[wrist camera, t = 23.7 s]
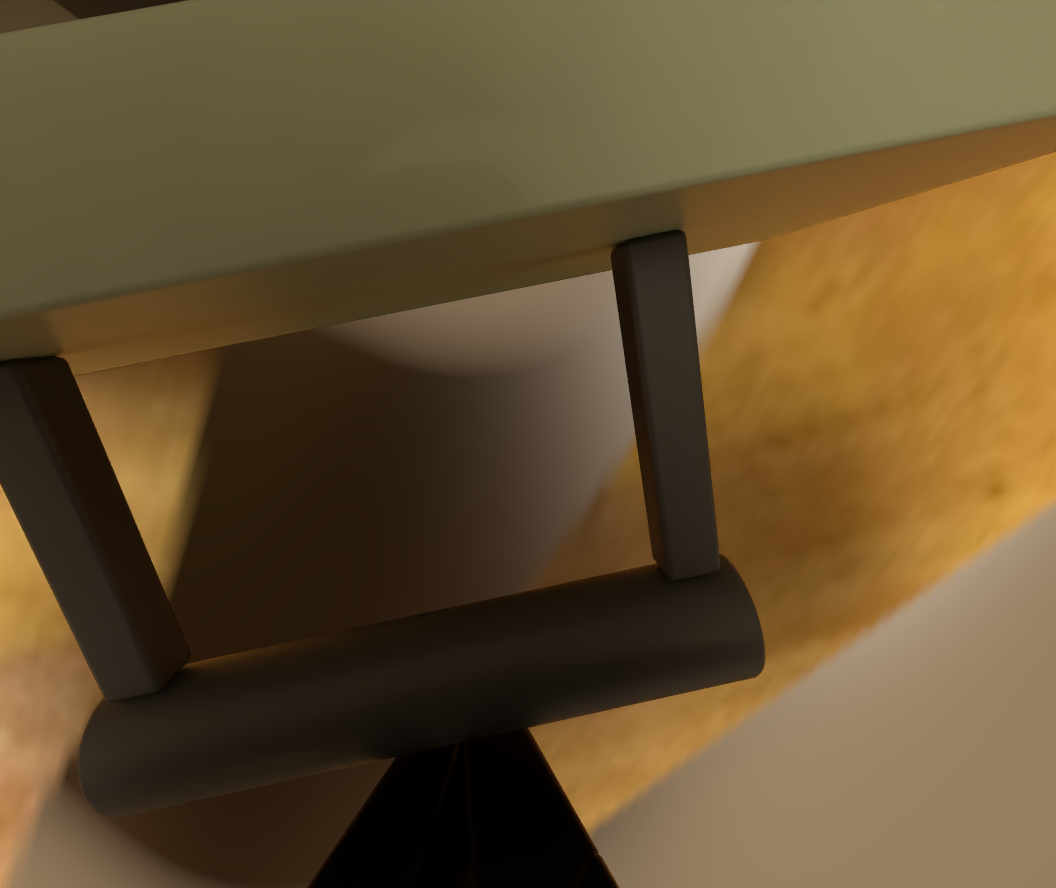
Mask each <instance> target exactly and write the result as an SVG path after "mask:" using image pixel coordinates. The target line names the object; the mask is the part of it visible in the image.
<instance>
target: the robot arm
mask: <svg viewBox="0 0 1056 888" xmlns="http://www.w3.org/2000/svg"><path fill="white" fill-rule="evenodd" d="M307 888H619V886H618V885H617V883H616V881H615V880H614V878H613V876H612V874H611V872H610V871H609V869H608V867H607V865H606V864H605V862H604V860H603V858H602V857H601V856H600V855H598V851H597V849H596V847H595V845H594V844H593V841H592V840H591V838H590V836H589V834H588V833H587V831H586V829H585V827H584V826H583V824H582V822H581V820H580V819H579V817H578V815H577V813H576V811H575V810H574V808H573V806H572V804H571V803H570V801H569V799H568V797H567V796H566V794H565V792H564V790H563V789H562V787H561V785H560V783H559V782H558V780H557V778H556V776H555V774H554V773H553V771H552V769H551V767H550V766H549V764H548V762H547V760H546V759H545V757H544V755H543V753H542V752H541V750H540V748H539V746H538V745H537V743H536V741H535V739H534V737H533V736H532V734H531V732H530V730H529V729H528V728H524V729H519V730H515V731H510V732H506V733H501V734H497V735H492V736H488V737H483V738H479V739H474V740H470V741H465V742H461V743H456V744H452V745H447V746H443V747H438V748H433V749H429V750H424V751H420V752H415V753H411V754H406V755H402V756H397V757H396V758H395V759H394V761H393V762H392V764H391V765H390V767H389V768H388V770H387V771H386V773H385V774H384V776H383V777H382V779H381V780H380V782H379V783H378V784H377V786H376V787H375V789H374V790H373V792H372V793H371V795H370V796H369V798H368V799H367V801H366V802H365V804H364V805H363V806H362V808H361V810H360V811H359V812H358V814H357V815H356V817H355V818H354V820H353V821H352V822H351V824H350V826H349V827H348V828H347V830H346V831H345V833H344V834H343V836H342V837H341V839H340V840H339V841H338V843H337V844H336V846H335V848H334V849H333V850H332V852H331V853H330V855H329V856H328V858H327V859H326V861H325V862H324V864H323V865H322V866H321V868H320V869H319V871H318V872H317V874H316V875H315V877H314V878H313V880H312V881H311V883H310V884H309V885H308V887H307Z"/></svg>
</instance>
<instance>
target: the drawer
mask: <svg viewBox="0 0 1056 888" xmlns="http://www.w3.org/2000/svg"><path fill="white" fill-rule="evenodd" d="M1053 152H1056V0H187V1H181V2H176V3H170V4H164V5H159V6H153V7H147V8H142V9H136V10H130V11H125V12H119V13H113V14H108V15H102V16H96V17H91V18H85V19H79V20H74V21H68V22H63V23H57V24H51V25H46V26H40V27H34V28H29V29H23V30H17V31H12V32H6V33H0V484H1V486H2V488H3V490H4V492H5V494H6V497H7V499H8V501H9V503H10V505H11V507H12V509H13V511H14V513H15V515H16V517H17V519H18V521H19V523H20V525H21V527H22V530H23V532H24V534H25V536H26V538H27V540H28V542H29V544H30V546H31V548H32V550H33V552H34V554H35V556H36V558H37V560H38V563H39V565H40V567H41V569H42V571H43V573H44V575H45V577H46V579H47V581H48V583H49V585H50V587H51V589H52V591H53V593H54V596H55V598H56V600H57V602H58V604H59V606H60V608H61V610H62V612H63V614H64V616H65V618H66V620H67V622H68V624H69V626H70V629H71V631H72V633H73V635H74V637H75V639H76V641H77V643H78V645H79V647H80V649H81V651H82V653H83V655H84V657H85V659H86V662H87V664H88V666H89V668H90V670H91V672H92V674H93V676H94V678H95V680H96V682H97V684H98V686H99V688H100V690H101V692H102V695H103V698H102V700H101V701H100V702H99V703H98V705H97V706H96V708H95V710H94V711H93V713H92V715H91V717H90V719H89V721H88V723H87V725H86V728H85V730H84V733H83V736H82V740H81V743H80V748H79V754H78V779H79V784H80V788H81V792H82V794H83V796H84V799H85V800H86V802H87V803H88V805H89V806H90V807H91V808H92V809H93V810H94V811H96V812H97V813H99V814H101V815H104V816H107V817H112V818H120V817H126V816H130V815H135V814H139V813H144V812H148V811H153V810H158V809H162V808H166V807H171V806H175V805H180V804H184V803H189V802H194V801H198V800H203V799H207V798H212V797H216V796H221V795H225V794H230V793H234V792H239V791H244V790H248V789H252V788H257V787H261V786H266V785H271V784H275V783H279V782H284V781H288V780H293V779H297V778H302V777H307V776H311V775H316V774H320V773H325V772H329V771H334V770H339V769H343V768H347V767H352V766H357V765H361V764H366V763H370V762H375V761H379V760H384V759H388V758H393V757H397V756H402V755H406V754H411V753H415V752H420V751H424V750H429V749H433V748H438V747H443V746H447V745H452V744H456V743H461V742H465V741H470V740H474V739H479V738H483V737H488V736H492V735H497V734H501V733H506V732H510V731H515V730H519V729H524V728H528V727H533V726H537V725H542V724H547V723H551V722H556V721H560V720H565V719H569V718H574V717H578V716H583V715H587V714H592V713H596V712H601V711H605V710H610V709H614V708H619V707H623V706H628V705H632V704H637V703H641V702H646V701H651V700H655V699H660V698H664V697H669V696H673V695H678V694H682V693H687V692H691V691H696V690H700V689H705V688H709V687H714V686H718V685H723V684H727V683H732V682H736V681H741V680H746V679H750V678H755V677H756V676H758V675H759V674H760V673H761V672H762V670H763V668H764V663H765V647H764V640H763V634H762V630H761V625H760V622H759V618H758V615H757V612H756V609H755V606H754V603H753V601H752V598H751V596H750V594H749V592H748V589H747V587H746V585H745V583H744V582H743V580H742V578H741V576H740V575H739V573H738V571H737V570H736V568H735V567H734V566H733V564H732V563H731V562H730V561H729V560H728V559H727V558H726V557H725V556H724V555H722V554H720V553H719V547H718V537H717V528H716V518H715V508H714V499H713V489H712V479H711V470H710V460H709V450H708V441H707V431H706V422H705V412H704V402H703V393H702V383H701V373H700V364H699V354H698V344H697V335H696V325H695V315H694V306H693V297H692V287H691V277H690V268H689V258H688V255H691V254H696V253H701V252H706V251H711V250H716V249H722V248H726V247H732V246H737V245H742V244H747V243H752V242H757V241H762V240H767V239H771V238H775V237H778V236H781V235H784V234H788V233H791V232H794V231H798V230H801V229H804V228H807V227H811V226H814V225H817V224H820V223H824V222H827V221H830V220H834V219H837V218H840V217H843V216H847V215H850V214H853V213H857V212H860V211H863V210H866V209H870V208H873V207H876V206H879V205H883V204H886V203H889V202H893V201H896V200H899V199H902V198H906V197H909V196H912V195H915V194H919V193H922V192H925V191H929V190H932V189H935V188H938V187H942V186H945V185H948V184H952V183H955V182H958V181H961V180H965V179H968V178H971V177H974V176H978V175H981V174H984V173H988V172H991V171H994V170H997V169H1001V168H1004V167H1007V166H1010V165H1014V164H1017V163H1020V162H1024V161H1027V160H1030V159H1033V158H1037V157H1040V156H1043V155H1047V154H1050V153H1053ZM609 270H613V278H614V284H615V292H616V299H617V306H618V313H619V320H620V327H621V334H622V342H623V349H624V356H625V363H626V370H627V377H628V384H629V391H630V398H631V406H632V413H633V419H634V427H635V434H636V441H637V448H638V455H639V462H640V470H641V477H642V484H643V491H644V498H645V505H646V512H647V519H648V526H649V533H650V540H651V548H652V555H653V558H654V560H655V561H656V562H657V564H653V565H648V566H643V567H638V568H634V569H629V570H624V571H620V572H615V573H610V574H606V575H601V576H596V577H592V578H587V579H582V580H578V581H573V582H568V583H564V584H559V585H554V586H549V587H545V588H540V589H535V590H531V591H526V592H521V593H517V594H512V595H507V596H503V597H498V598H493V599H489V600H484V601H479V602H475V603H470V604H465V605H460V606H456V607H452V608H446V609H442V610H437V611H432V612H428V613H423V614H418V615H414V616H409V617H404V618H400V619H395V620H390V621H385V622H381V623H376V624H372V625H367V626H362V627H357V628H353V629H348V630H343V631H339V632H334V633H329V634H325V635H320V636H315V637H311V638H306V639H301V640H296V641H292V642H287V643H282V644H278V645H273V646H269V647H264V648H259V649H254V650H250V651H245V652H240V653H236V654H231V655H226V656H222V657H217V658H212V659H207V660H203V661H198V662H193V663H189V664H186V663H187V662H188V660H189V659H190V651H189V649H188V646H187V644H186V641H185V639H184V637H183V634H182V632H181V630H180V627H179V625H178V622H177V620H176V618H175V615H174V613H173V611H172V608H171V606H170V603H169V601H168V599H167V596H166V594H165V592H164V589H163V587H162V584H161V582H160V580H159V577H158V575H157V573H156V570H155V568H154V565H153V563H152V561H151V558H150V556H149V554H148V551H147V549H146V546H145V544H144V542H143V539H142V537H141V535H140V532H139V530H138V527H137V525H136V523H135V520H134V518H133V516H132V513H131V511H130V508H129V506H128V504H127V501H126V499H125V497H124V494H123V492H122V489H121V487H120V485H119V482H118V480H117V478H116V475H115V473H114V470H113V468H112V466H111V463H110V461H109V459H108V456H107V454H106V451H105V449H104V447H103V444H102V442H101V440H100V437H99V435H98V432H97V430H96V428H95V425H94V423H93V421H92V418H91V416H90V413H89V411H88V409H87V406H86V404H85V402H84V399H83V397H82V394H81V392H80V390H79V387H78V385H77V383H76V380H75V378H74V376H75V375H80V374H85V373H90V372H95V371H100V370H105V369H110V368H115V367H120V366H125V365H131V364H136V363H141V362H146V361H151V360H156V359H161V358H166V357H171V356H176V355H181V354H187V353H192V352H197V351H202V350H207V349H212V348H217V347H222V346H227V345H232V344H237V343H242V342H248V341H253V340H258V339H263V338H268V337H273V336H278V335H283V334H288V333H293V332H299V331H304V330H309V329H314V328H319V327H324V326H329V325H334V324H339V323H345V322H350V321H355V320H360V319H365V318H370V317H374V316H380V315H385V314H390V313H395V312H400V311H405V310H411V309H416V308H421V307H426V306H431V305H436V304H441V303H446V302H452V301H456V300H462V299H467V298H472V297H477V296H481V295H487V294H492V293H497V292H502V291H507V290H513V289H518V288H523V287H528V286H532V285H538V284H543V283H548V282H553V281H558V280H564V279H568V278H574V277H579V276H584V275H589V274H594V273H599V272H604V271H609Z"/></svg>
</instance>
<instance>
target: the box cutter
mask: <svg viewBox="0 0 1056 888" xmlns="http://www.w3.org/2000/svg"><path fill="white" fill-rule="evenodd" d="M181 1H187V0H0V33H6V32H12V31H17V30H23V29H29V28H34V27H40V26H46V25H51V24H57V23H63V22H68V21H74V20H79V19H85V18H91V17H96V16H102V15H108V14H113V13H119V12H125V11H130V10H136V9H142V8H147V7H153V6H159V5H164V4H170V3H176V2H181Z"/></svg>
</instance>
